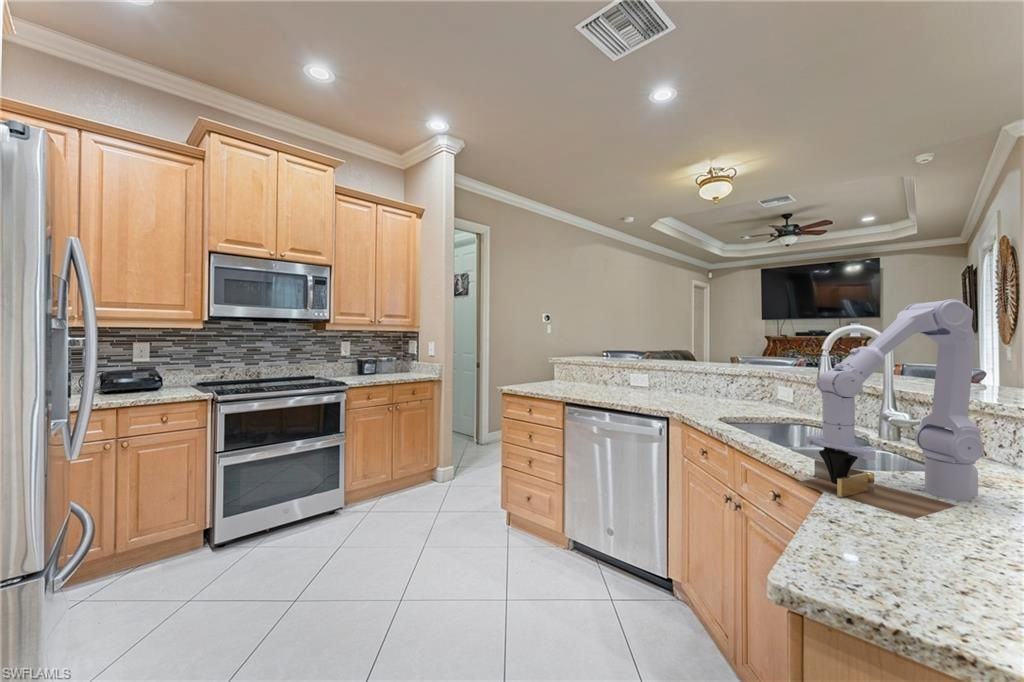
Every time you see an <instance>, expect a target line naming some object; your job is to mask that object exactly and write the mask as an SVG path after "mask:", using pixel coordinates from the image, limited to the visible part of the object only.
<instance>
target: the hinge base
mask: <svg viewBox="0 0 1024 682" xmlns="http://www.w3.org/2000/svg"><path fill="white" fill-rule="evenodd" d="M813 469H814V473H813V474H814V475H813V476H814V477H815V478H811V479H804V480H798V481H795V482H794V483H795V484H798V485H802V486H805V487H809V488H812V489H815V490H819V491H820V492H825V493H828V494H832V495H834V496H837V484H834V483H832V482H831V478H830V475H829V471H828V469H827V466H826V464H825V462H824V460H820V459H814V468H813ZM864 472H865V471H864V470H861V469H856V468H854V467H853V468H852V467H851V468H850V470H849V472H848V474H847V476H851V475H856V474H861V473H864ZM843 498H845V499H848V500H851V501H854V502H858V503H861V504H865V505H867V506H871V507H874V508H877V509H880V510H883V511H887V512H890V513H894V514H898V515H901V516H904V517H908V518H910V519H914V520H915V519H919V518H922V517H926V516H929V515H932V514H935V513H938V512H942V511H944V510H945V511H946V510H948V509H952V508H955V507H958V505H957V504H954V503H950V502H947V501H943V500H938V499H935V498H931V497H927V496H923V495H919V494H916V493H912V492H907V491H905V490H901V489H897V488H894V487H893V488H892V487H889V486H886V485H882V484H877V483H875V481H874V482H868V491H866V492H862V493H858V494H853V495H849V496H845V497H843Z"/></svg>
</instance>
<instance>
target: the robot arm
mask: <svg viewBox="0 0 1024 682" xmlns="http://www.w3.org/2000/svg"><path fill="white" fill-rule="evenodd" d="M973 315H974V310H973V309H972V308H970V307H969V306H968V305H967V304H966V303H964V302H963V301H962V300H959V299H956V298H950V299H945V300H938V301H930V302H929V301H927V302H914V303H911V304H909V305H907V306H906V307H904V309H903V310H901V311H900V312H898V313H897V316H896V318H895V320H894V321H893V322H892V323H890V325H889V326H888V327H886V328H885V330H883V331H882V332H881V333H880V334H879V335H878V336H877V337H876V338H875V339H874V341H872V342H871V343H870V344H869V345H868V346H858V347H857V348H856V347H853V348H852V349H851V350H849V353H850V354H849V355H848V356H847V357H846V358H844V359H843V360H842V361H841V362H839V363H836V364H835V365H833V367H834V368H833V370H832V369H829V370H825V371H824V372H823V373H821V374H820V376H819V379H818V380H817V381H816V383H815V385H816V387H817V389H818V390H819V391H820V394H821V399H822V437H821V436H816V435H806V436H805V444H806V445H809V446H810V445H813V446H817V447H821V448H823V450H819V451H818V452H819V455H820V457H821V458H822V461H824V462H825V464H826V466H827V469H828V471H829V475H830V478H831V482H832V483H834V484H837V478H842V477H847V474H848V472H849V470H850V468H852V466H853V464H854V463H855V462H856V461H857V460H858V459H859V458H861V459H863V460H865V461H876V459H877V458H876V452H877V451H876V450H874V449H870V448H867V447H864V446H862V445H861V446H860V445H858V444H856V443H855V442H856V441H855V426H856V425H855V422H856V421H855V419H856V418H855V415H856V412H855V411H856V410H855V408H856V402H855V399H856V396H857V395H859V394H860V393H861V392H862V390H863V385H864V382H866V380H867V379H869V377H871V375H873V374H874V373H875V372H877V371H878V370H879V369H880V368H881V367H883V365H885V356H886V355H887V354H889V353H890V352H892V351H893V350H895V349H896V348H897V347H898V346H900V345H901V344H902V343H903V342H905V341H906V340H907V339H909V338H910V337H911V336H912V335H915V334H921V335H924V336H926V337H928V338H930V340H932V341H933V342H935V344H937V357H936V367H935V376H934V386H933V387H934V388H933V396H932V397H933V398H932V407H931V408H932V410H931V413H930V414H928V415H926V416H925V417H923V418H922V419H921V423H920V425H919V426H920V427H919V428H918V429H917V431H916V434H915V435H914V436H915V437H914V438H915V442H916V445H917V447H918V448H919V449H920V450H921V451H922V455H924V491H925V492H926V493H928V494H931V495H932V496H933V495H934V496H936V497H940V498H944V499H950V500H954V501H955V500H956V501H964V502H965V501H972V500H973V498H974V497H978V496H979V471H978V469H977V468H976V467H977V466H975V465H976V463H977V461H978V460H979V459H981V458H982V456H983V454H984V452H985V448H984V447H985V446H984V443H983V440H982V437H981V433H982V432H981V430H982V429H981V428H980V427H979V426H977V425H976V424H975V423H974V422H973V421H972V420H971V419H970V418H969V410H970V409H969V408H970V398H971V387H972V377H973V366H974V357H975V355H974V354H975V345H976V335H975V331H974V329H973V326H972V325H973Z"/></svg>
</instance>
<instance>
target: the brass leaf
mask: <svg viewBox="0 0 1024 682" xmlns="http://www.w3.org/2000/svg"><path fill="white" fill-rule="evenodd" d="M868 482H874V483H875V473H874V472H872V471H871V472H870V471H864V473H861V474H856V475H851V476H847V477H842V478H837V495H836V496H837V497H839V498H844V497H845V496H849V495H853V494H858V493H862V492H866V491H868Z"/></svg>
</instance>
